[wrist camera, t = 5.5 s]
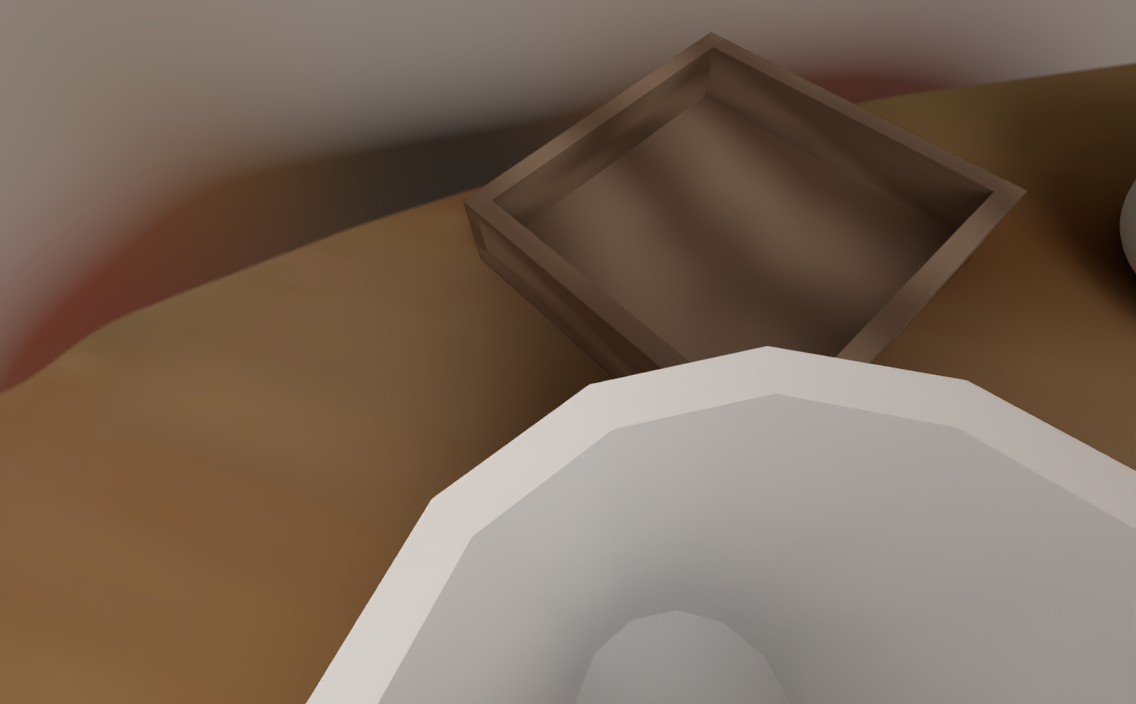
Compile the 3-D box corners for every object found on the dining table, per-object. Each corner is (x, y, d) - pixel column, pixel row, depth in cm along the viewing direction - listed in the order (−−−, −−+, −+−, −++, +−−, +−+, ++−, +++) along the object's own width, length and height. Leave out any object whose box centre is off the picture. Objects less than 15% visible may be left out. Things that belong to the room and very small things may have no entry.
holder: (700, 98, 29) (710, 32, 26) (972, 253, 23) (1027, 190, 20) (480, 258, 25) (462, 200, 22) (747, 496, 19) (774, 463, 16)
